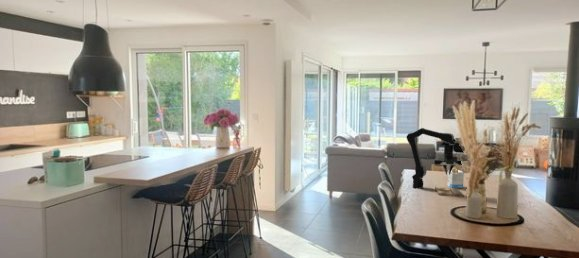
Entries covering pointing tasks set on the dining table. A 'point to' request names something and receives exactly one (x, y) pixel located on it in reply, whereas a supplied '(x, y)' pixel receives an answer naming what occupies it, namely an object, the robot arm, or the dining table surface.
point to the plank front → (445, 193)
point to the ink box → (455, 179)
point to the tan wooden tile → (456, 192)
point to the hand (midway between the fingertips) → (447, 174)
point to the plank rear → (442, 189)
